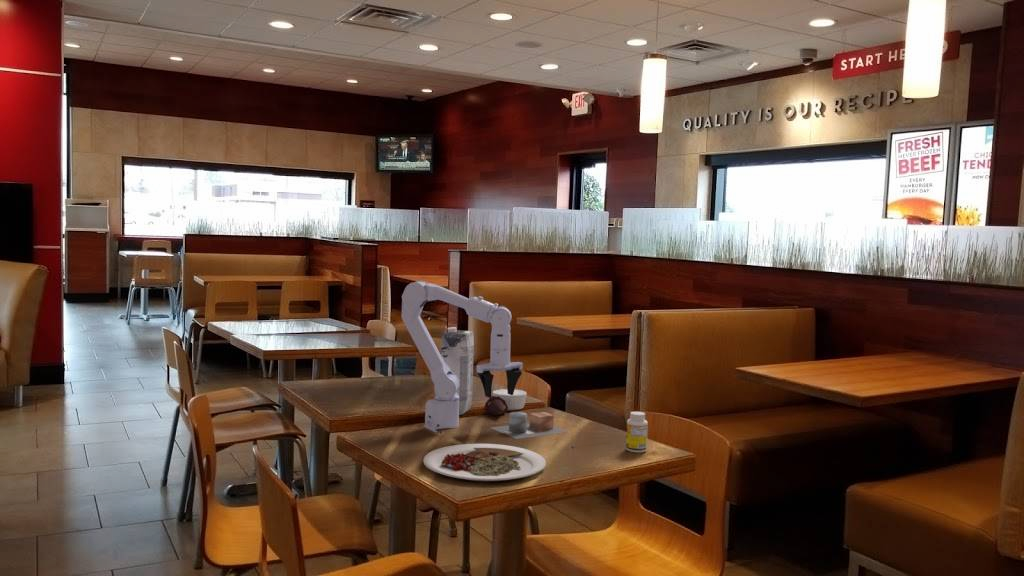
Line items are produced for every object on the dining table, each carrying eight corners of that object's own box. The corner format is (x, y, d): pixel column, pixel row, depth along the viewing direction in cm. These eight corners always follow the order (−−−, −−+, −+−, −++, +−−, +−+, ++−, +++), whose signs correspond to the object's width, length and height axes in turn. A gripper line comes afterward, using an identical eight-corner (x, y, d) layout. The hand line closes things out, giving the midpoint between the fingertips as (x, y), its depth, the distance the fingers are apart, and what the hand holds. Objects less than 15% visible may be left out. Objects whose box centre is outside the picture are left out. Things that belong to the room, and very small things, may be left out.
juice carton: (473, 409, 255) (476, 326, 253) (463, 416, 245) (466, 330, 243) (447, 407, 257) (450, 325, 255) (437, 413, 247) (439, 328, 245)
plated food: (569, 477, 188) (570, 463, 187) (455, 493, 173) (456, 478, 172) (507, 445, 213) (508, 433, 213) (404, 458, 199) (404, 445, 198)
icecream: (516, 402, 238) (503, 396, 253) (493, 396, 237) (482, 390, 251) (510, 424, 238) (498, 417, 252) (487, 418, 236) (476, 412, 251)
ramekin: (487, 405, 263) (487, 389, 262) (518, 403, 267) (518, 388, 267) (499, 412, 252) (500, 396, 252) (531, 410, 257) (532, 394, 256)
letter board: (516, 442, 216) (516, 438, 216) (489, 430, 228) (489, 427, 228) (568, 435, 226) (568, 431, 226) (540, 424, 237) (540, 421, 237)
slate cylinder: (515, 434, 221) (515, 416, 221) (505, 430, 225) (506, 412, 225) (529, 432, 224) (530, 414, 223) (520, 428, 228) (520, 411, 227)
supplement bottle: (628, 446, 216) (630, 409, 215) (648, 449, 213) (650, 412, 213) (623, 451, 210) (624, 413, 210) (643, 454, 208) (645, 416, 208)
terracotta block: (539, 430, 226) (539, 417, 225) (529, 426, 230) (529, 413, 230) (553, 429, 228) (553, 415, 228) (543, 425, 232) (543, 411, 232)
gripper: (485, 352, 219) (484, 400, 220) (529, 349, 227) (527, 395, 228) (473, 349, 225) (472, 395, 226) (515, 346, 233) (514, 391, 234)
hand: (499, 395), depth 227 cm, fingers open, 7 cm apart
